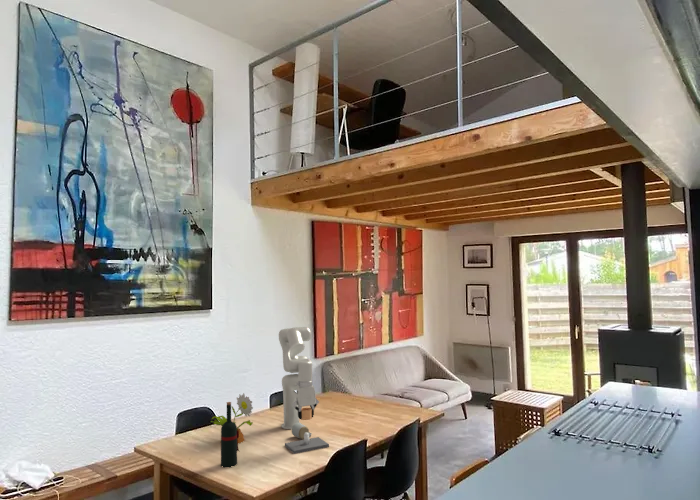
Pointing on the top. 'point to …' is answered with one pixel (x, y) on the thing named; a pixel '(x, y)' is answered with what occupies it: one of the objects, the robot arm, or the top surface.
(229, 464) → the wine bottle
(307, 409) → the collar
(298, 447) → the post base
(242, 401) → the decorative plant
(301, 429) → the ceramic mug
